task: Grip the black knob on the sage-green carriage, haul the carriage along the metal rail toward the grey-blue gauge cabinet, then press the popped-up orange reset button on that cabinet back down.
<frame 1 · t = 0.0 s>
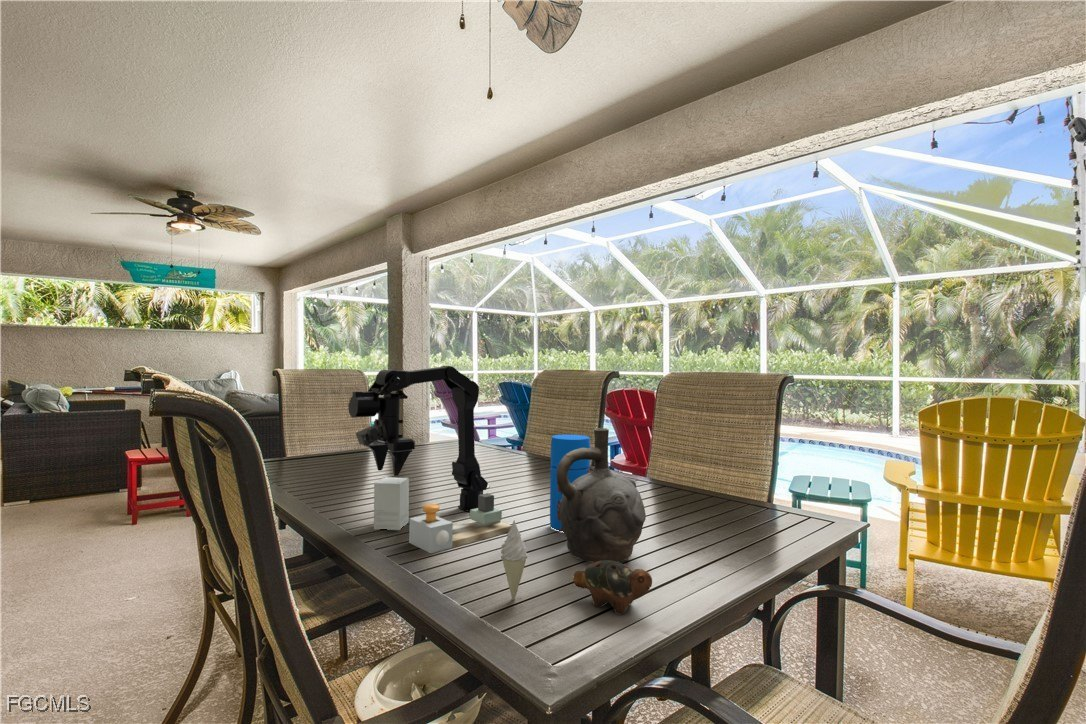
hand: (387, 473, 140), 15 cm above the table, tool pointing down, fingers open, 9 cm apart
ice cream cone: (513, 600, 97), on the table
reset button: (431, 514, 126), point 8 cm above the table, slide at 0.0 cm
gauge cabinet: (430, 545, 126), on the table
thermos: (569, 528, 141), on the table
supplement box: (391, 526, 140), on the table
carriage: (486, 507, 138), point 6 cm above the table, slide at 0.0 cm
rail board: (471, 534, 135), on the table
decorative turtle: (611, 606, 95), on the table
vessel: (596, 557, 120), on the table
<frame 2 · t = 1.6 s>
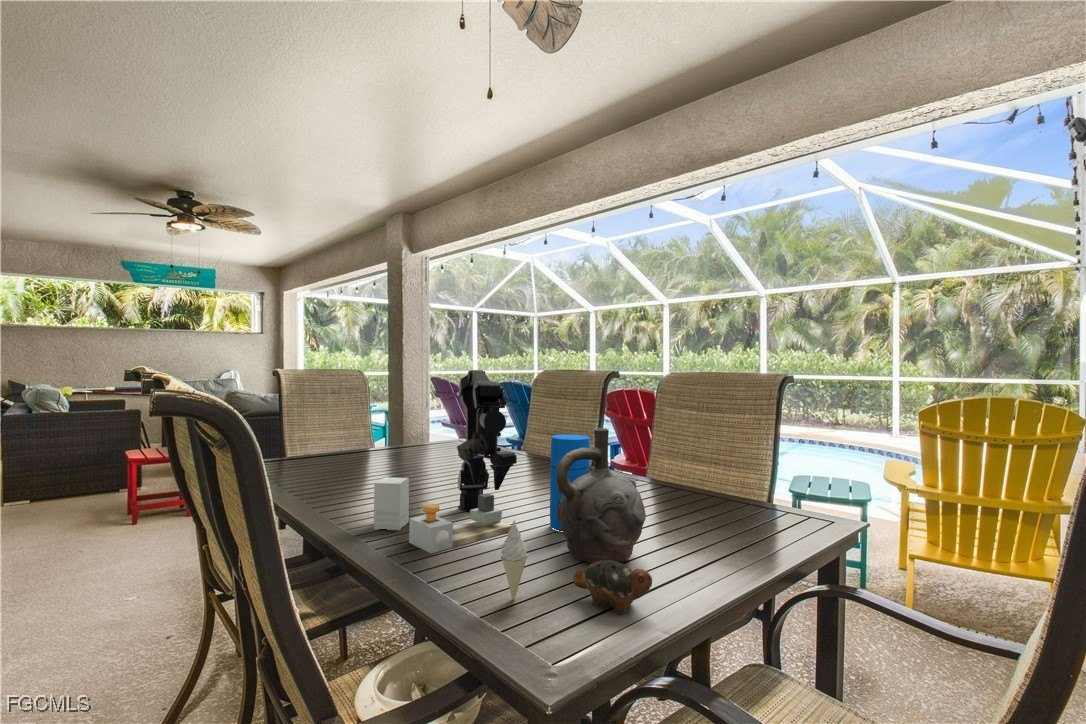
hand: (486, 486, 138), 12 cm above the table, tool pointing down, fingers open, 9 cm apart
nothing on the table moved.
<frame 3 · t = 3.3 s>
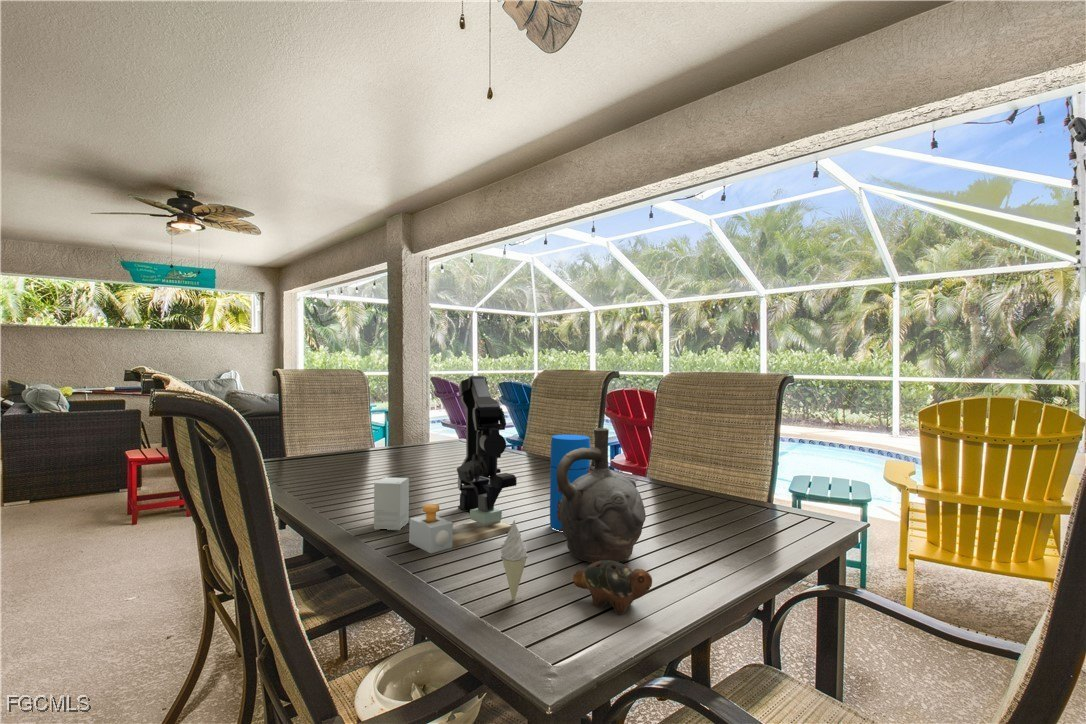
hand: (485, 508, 138), 6 cm above the table, tool pointing down, fingers closed on carriage, 3 cm apart
carriage: (486, 507, 138), point 6 cm above the table, slide at 0.0 cm, touching gripper
everything else where it was.
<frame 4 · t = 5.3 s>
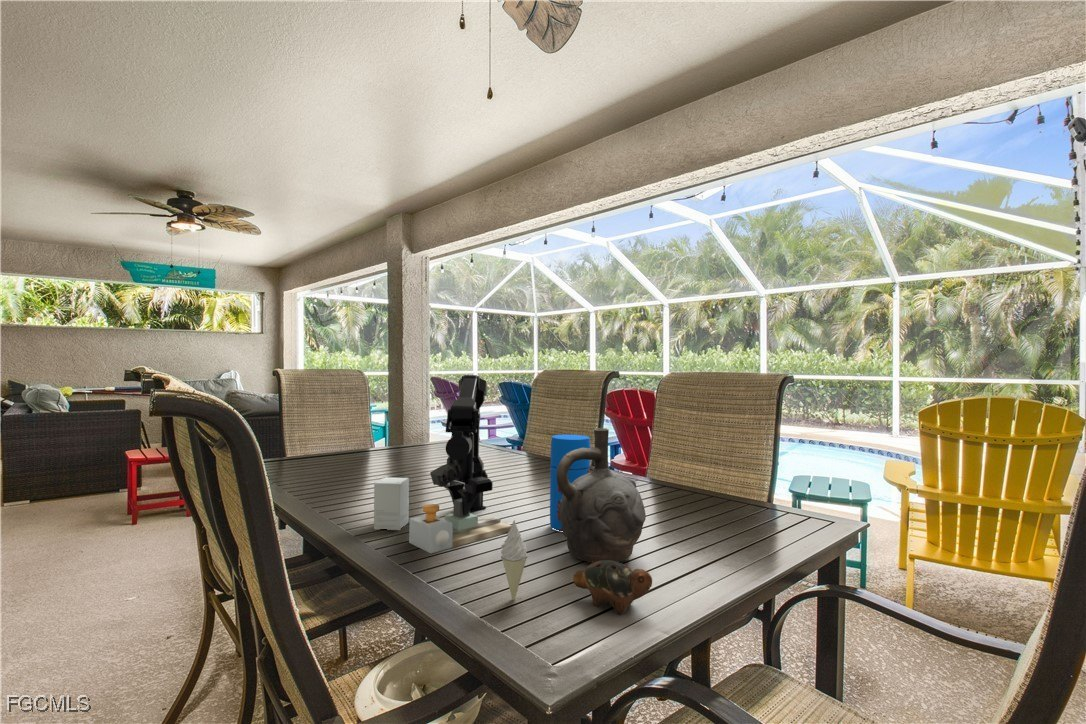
hand: (461, 513, 132), 6 cm above the table, tool pointing down, fingers closed on carriage, 3 cm apart
carriage: (461, 512, 132), point 6 cm above the table, slide at 7.9 cm, touching gripper
everything else where it was.
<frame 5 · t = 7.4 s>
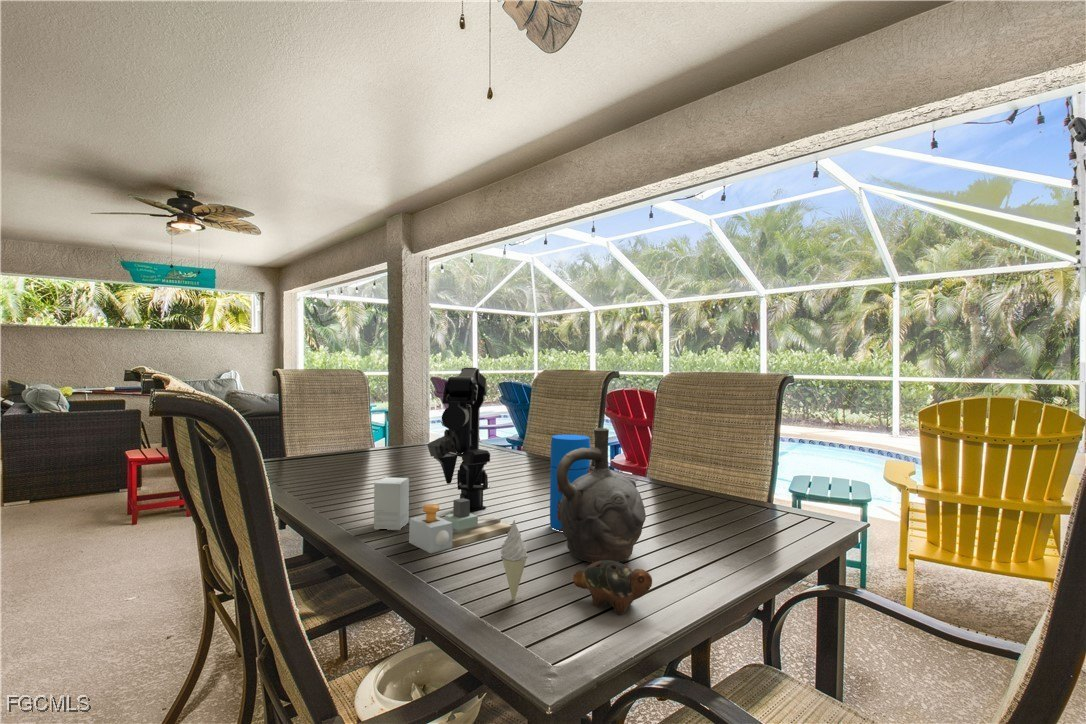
hand: (458, 486, 131), 13 cm above the table, tool pointing down, fingers open, 9 cm apart
carriage: (461, 512, 132), point 6 cm above the table, slide at 7.9 cm
everything else where it was.
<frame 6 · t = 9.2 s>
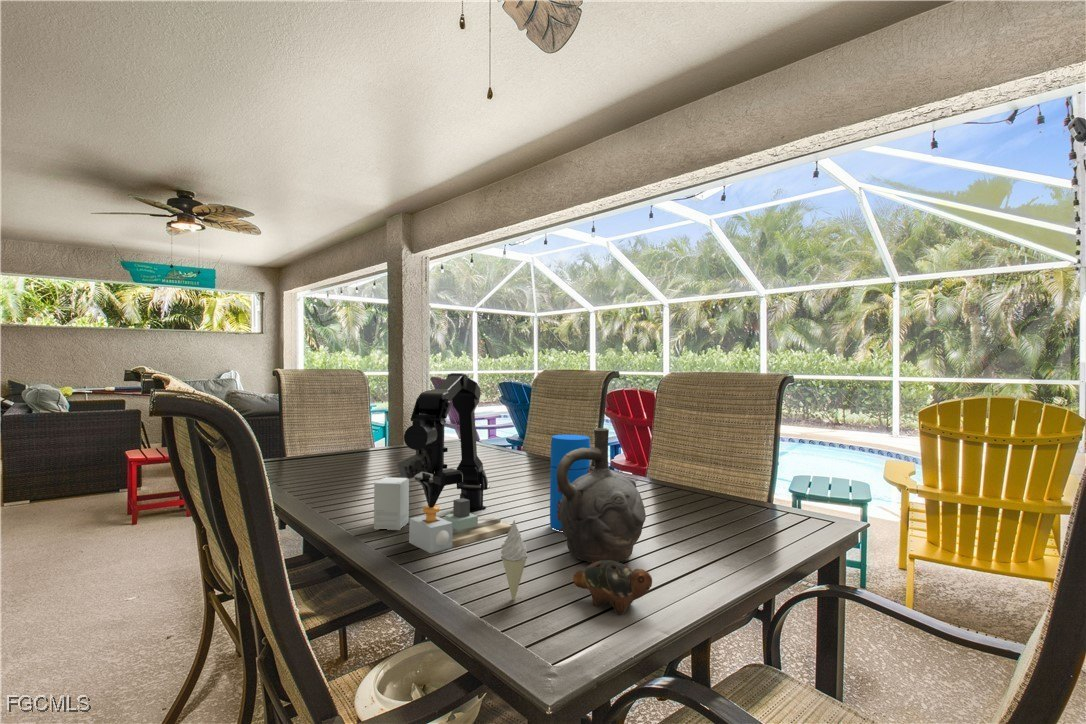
hand: (431, 507, 126), 9 cm above the table, tool pointing down, fingers closed, pressing on reset button
reset button: (430, 515, 126), point 7 cm above the table, slide at 0.2 cm, touching gripper
everything else where it was.
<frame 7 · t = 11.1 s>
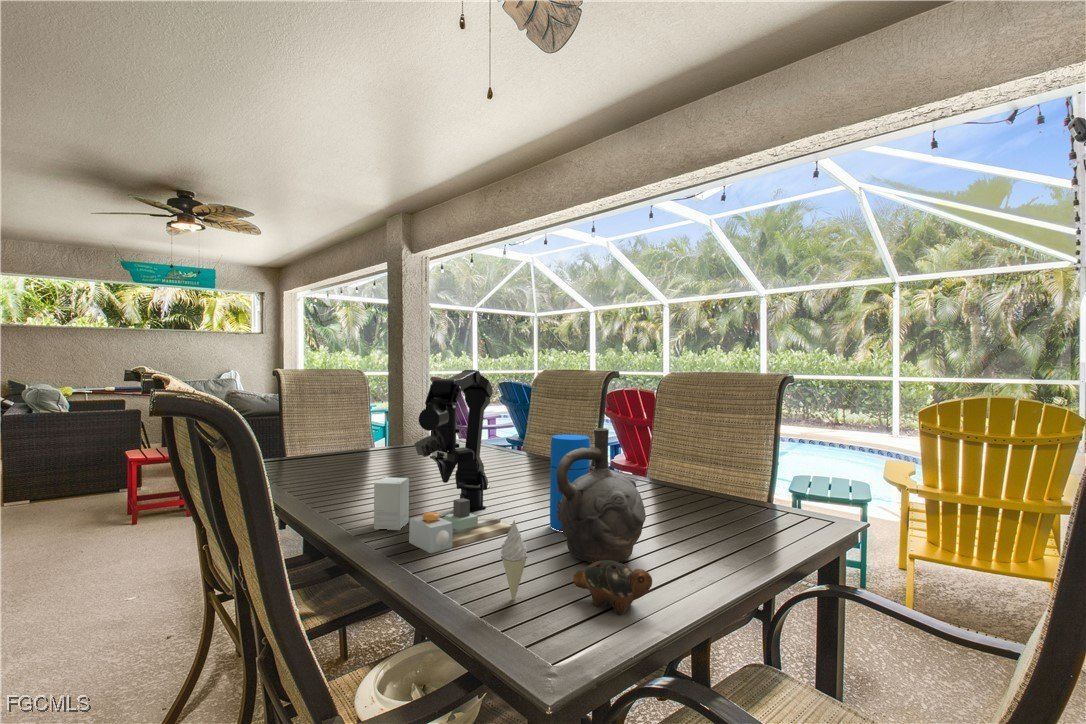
hand: (445, 482, 139), 12 cm above the table, tool pointing down, fingers closed
reset button: (430, 522, 126), point 6 cm above the table, slide at 1.9 cm
everything else where it was.
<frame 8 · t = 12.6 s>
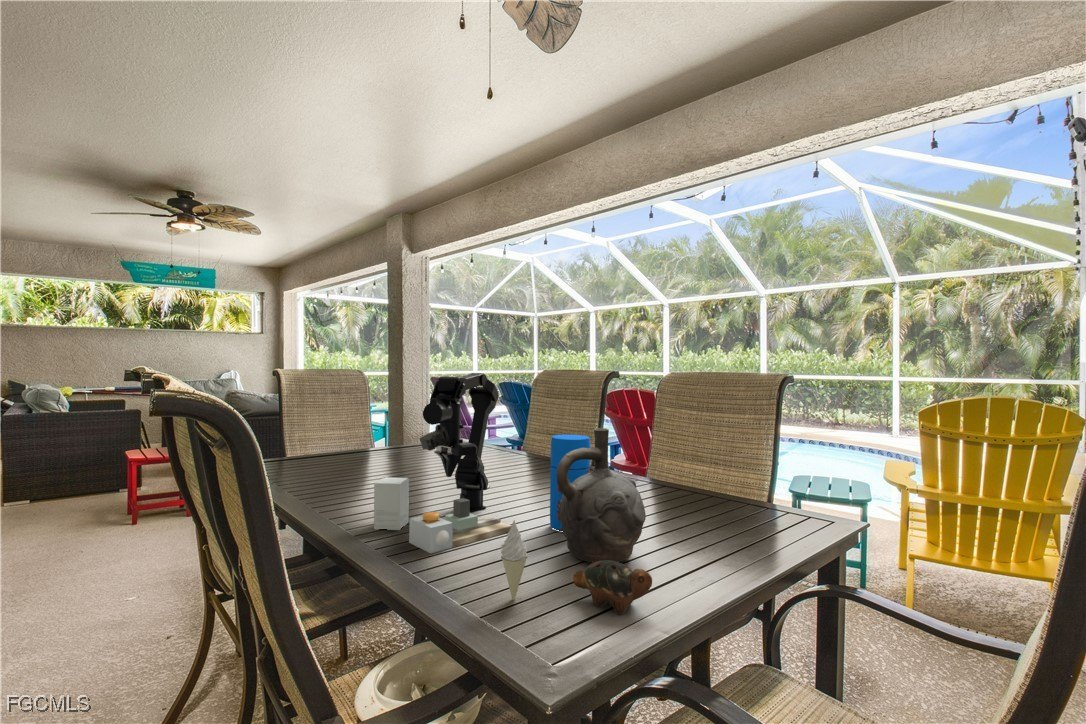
hand: (448, 476, 144), 13 cm above the table, tool pointing down, fingers closed
nothing on the table moved.
at the end: carriage slide at 7.9 cm; reset button slide at 1.9 cm; the gripper is holding nothing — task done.
